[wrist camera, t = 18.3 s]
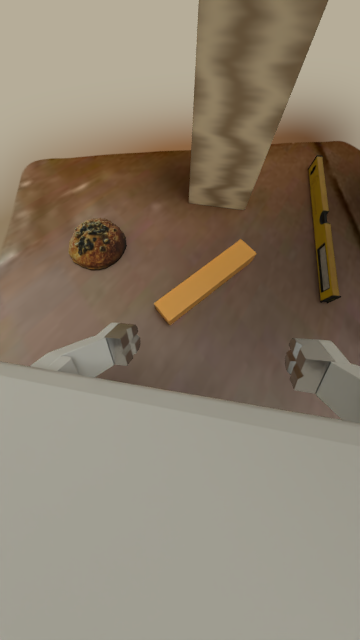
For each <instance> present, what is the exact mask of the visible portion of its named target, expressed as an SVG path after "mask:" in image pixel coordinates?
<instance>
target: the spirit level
mask: <svg viewBox="0 0 360 640" xmlns="http://www.w3.org/2000/svg"><path fill="white" fill-rule="evenodd" d="M322 157H323V156H319V155H317V156H316V157H315V159H314V161H313V162H312V164H311V165H310V167H309V169H308V170H309V179H310V190H311V201H312V211H313V222H314V233H315V244H316V255H317V265H318V276H319V287H320V298H321V301H320V302H327V303H329V302H331V301H333V300H336V299H338V298H340V297H341V296H339V289H338V281H337V273H336V265H335V257H334V249H333V241H332V233H331V225H330V223H327V213H328V212H329V209H328V201H327V193H326V185H325V177H324V169H323V161H322Z"/></svg>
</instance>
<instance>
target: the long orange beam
mask: <svg viewBox="0 0 360 640" xmlns="http://www.w3.org/2000/svg"><path fill="white" fill-rule="evenodd" d="M256 254H257V253H256V252H255V251H254V250H253V249H251V248H250V247H249V246H248V245H247V244H246V243H245V242H244V241H243V240H242V239H240V240H239V241H238V242H236V243H235V244H234V245H232V246H231V247H229V248H228V249H227V250H225V251H224V252H223V253H221V254H220V255H219V256H217V257H216V258H215V259H213V260H212V261H211V262H209V263H208V264H206V265H205V266H204V267H202V268H201V269H200V270H198V271H197V272H196V273H194V274H193V275H192V276H190V277H189V278H188V279H186V280H185V281H183V282H182V283H181V284H179V285H178V286H177V287H175V288H174V289H173V290H171V291H170V292H169V293H167V294H166V295H165V296H163V297H162V298H160V299H159V300H158V301H156V302H155V303H154V305H155V308H156V309H157V311H158V312H159V313H160V314H161V316H162V317H163V318H164V319H165V320H166V322H167V323H168V324H169V325H171V324H173V323H174V322H175V321H176V320H178V319H179V318H180V317H181V316H183V315H184V314H185V313H187V312H188V311H189V310H190V309H192V308H193V307H194V306H196V305H197V304H198V303H199V302H201V301H202V300H203V299H205V298H206V297H207V296H208V295H210V294H211V293H212V292H213V291H215V290H216V289H217V288H219V287H220V286H221V285H222V284H224V283H225V282H226V281H228V280H229V279H230V278H231V277H233V276H234V275H235V274H237V273H238V272H239V271H240V270H242V269H243V268H244V267H245V266H247V265H248V264H249V263H251V262H252V260H253V258H254V257H255V255H256Z"/></svg>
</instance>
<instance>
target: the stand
mask: <svg viewBox="0 0 360 640" xmlns="http://www.w3.org/2000/svg"><path fill="white" fill-rule="evenodd" d="M327 2H328V0H199V8H198V27H197V28H198V29H197V47H196V67H195V87H194V107H193V127H192V149H191V167H190V187H189V203H191V204H199V205H207V206H215V207H223V208H231V209H239V210H245V208H246V205H247V203H248V200H249V198H250V195H251V193H252V190H253V188H254V185H255V183H256V180H257V178H258V175H259V173H260V170H261V168H262V165H263V163H264V160H265V158H266V155H267V153H268V150H269V148H270V145H271V142H272V140H273V137H274V135H275V132H276V130H277V128H278V125H279V123H280V120H281V118H282V115H283V112H284V110H285V108H286V105H287V103H288V100H289V97H290V95H291V92H292V90H293V88H294V85H295V83H296V80H297V78H298V75H299V72H300V70H301V67H302V65H303V62H304V60H305V57H306V55H307V52H308V50H309V47H310V45H311V42H312V40H313V37H314V35H315V32H316V30H317V27H318V25H319V22H320V20H321V17H322V15H323V12H324V10H325V7H326V5H327Z"/></svg>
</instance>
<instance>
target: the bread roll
mask: <svg viewBox="0 0 360 640" xmlns="http://www.w3.org/2000/svg"><path fill="white" fill-rule="evenodd" d="M126 247H127V245H126V240H125V236H124V233H123V232H122V231H121V230H120V229H119V227H118V226H116V225H115V224H113V223H112V222H111V221H108V220H107V219H101V218H99V219H97V218H95V219H94V218H93V219H90V220H86V221H85V222H83V223H81V224H79V226H78V227H76V228H75V232H74V234H73V236H72V238H71V240H70V242H69V254H70V256H71V257H72V258H73V259H72V260H73V261H74V262H75V263H77V264H79V265H80V266H82V267H85V268H88V269H103V268H107V267H108V266H110V265H112V264H114V263H115V262H116V261H117V260H118V259H120V257H121V256H122V254H123V253H124V250H125V249H126Z"/></svg>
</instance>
